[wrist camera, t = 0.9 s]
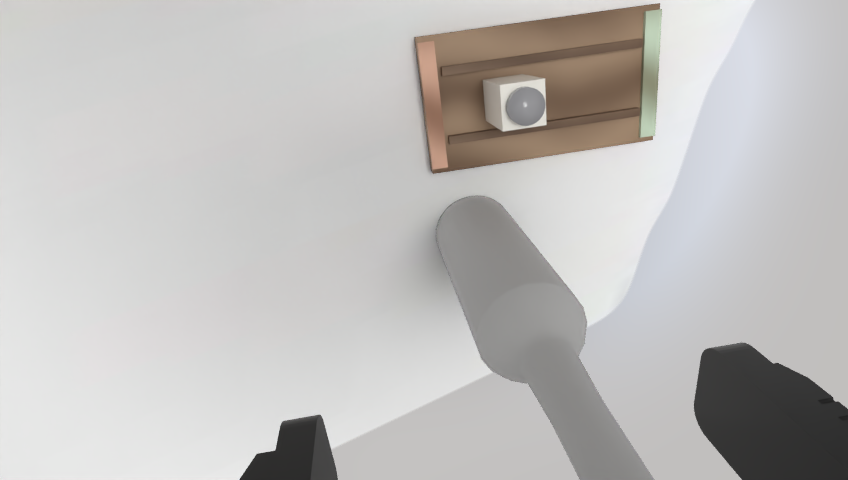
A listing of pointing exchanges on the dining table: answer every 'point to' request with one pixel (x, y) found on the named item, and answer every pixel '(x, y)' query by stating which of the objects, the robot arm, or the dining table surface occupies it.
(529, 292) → the bottle
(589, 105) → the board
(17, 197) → the dining table surface
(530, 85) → the slider knob
